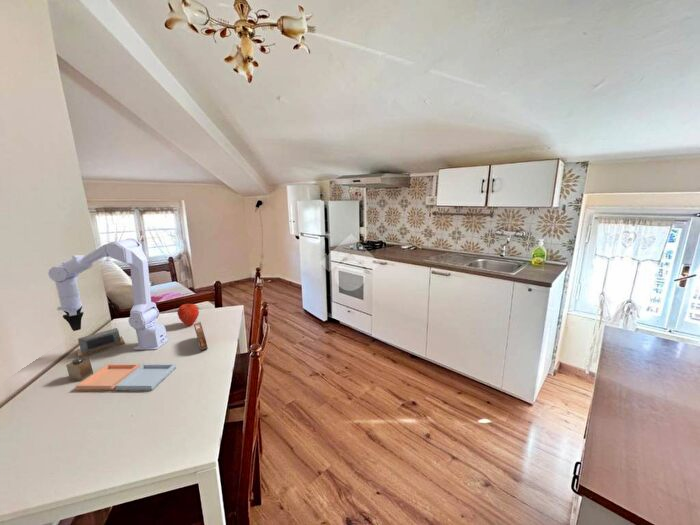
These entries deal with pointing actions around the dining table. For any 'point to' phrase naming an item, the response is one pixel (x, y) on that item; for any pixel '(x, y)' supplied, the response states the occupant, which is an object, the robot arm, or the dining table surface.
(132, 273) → the robot arm
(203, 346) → the tin
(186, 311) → the apple
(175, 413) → the dining table surface
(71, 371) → the wooden block with knob
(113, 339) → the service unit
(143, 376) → the blue-grey tray
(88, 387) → the terracotta tray
